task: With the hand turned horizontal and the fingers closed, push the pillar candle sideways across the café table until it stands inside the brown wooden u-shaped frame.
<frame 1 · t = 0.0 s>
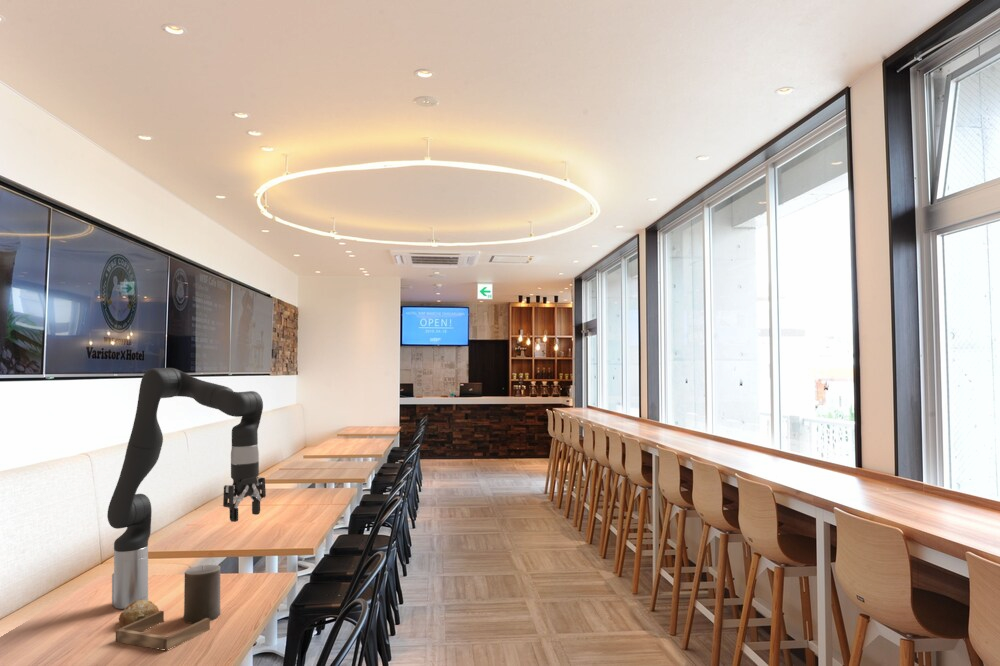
hand: (245, 517, 187), 29 cm above the table, tool pointing down, fingers open, 8 cm apart
bread roll: (138, 623, 187), on the table
pillar candle: (202, 617, 190), on the table
brown wooden u-shaped frame: (165, 634, 178), on the table
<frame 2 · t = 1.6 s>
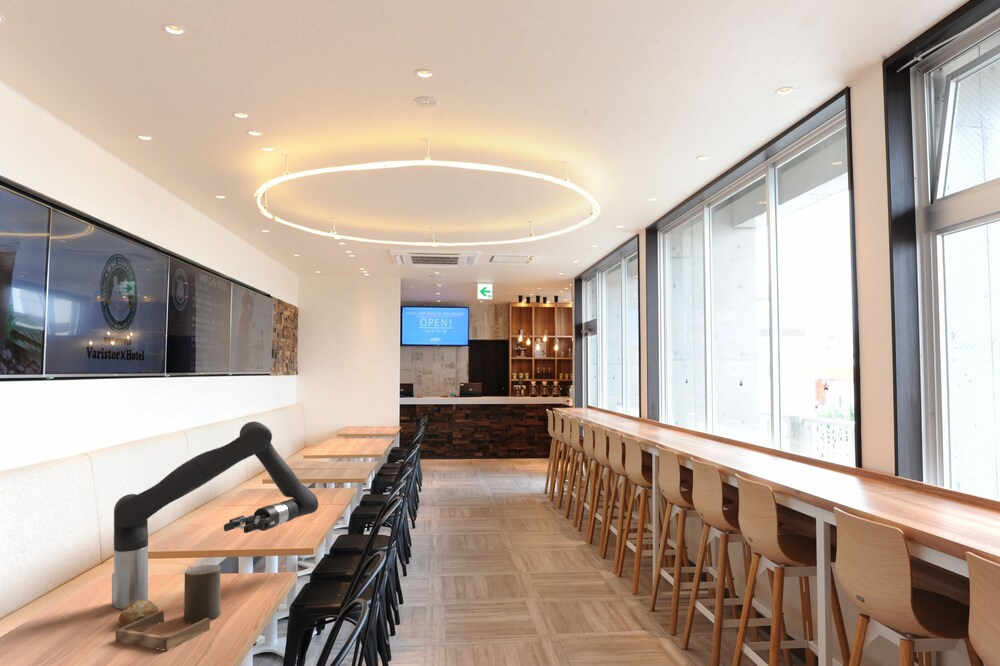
hand: (234, 528, 203), 22 cm above the table, tool horizontal, fingers open, 7 cm apart
nothing on the table moved.
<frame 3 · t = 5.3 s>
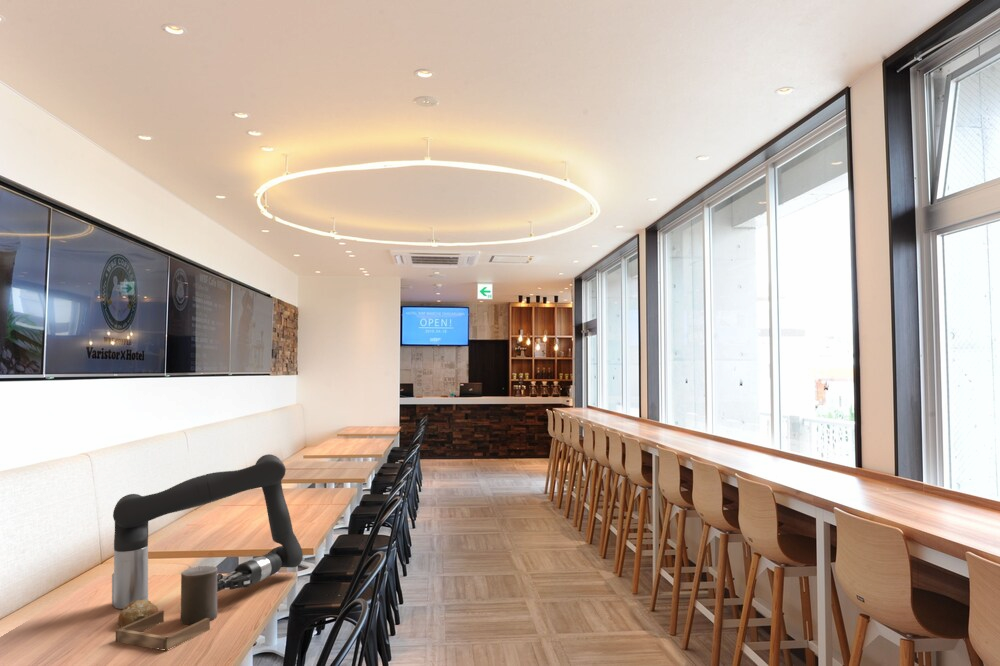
hand: (212, 589, 194), 7 cm above the table, tool horizontal, fingers closed
pillar candle: (199, 618, 189), on the table, touching gripper
everything else where it was.
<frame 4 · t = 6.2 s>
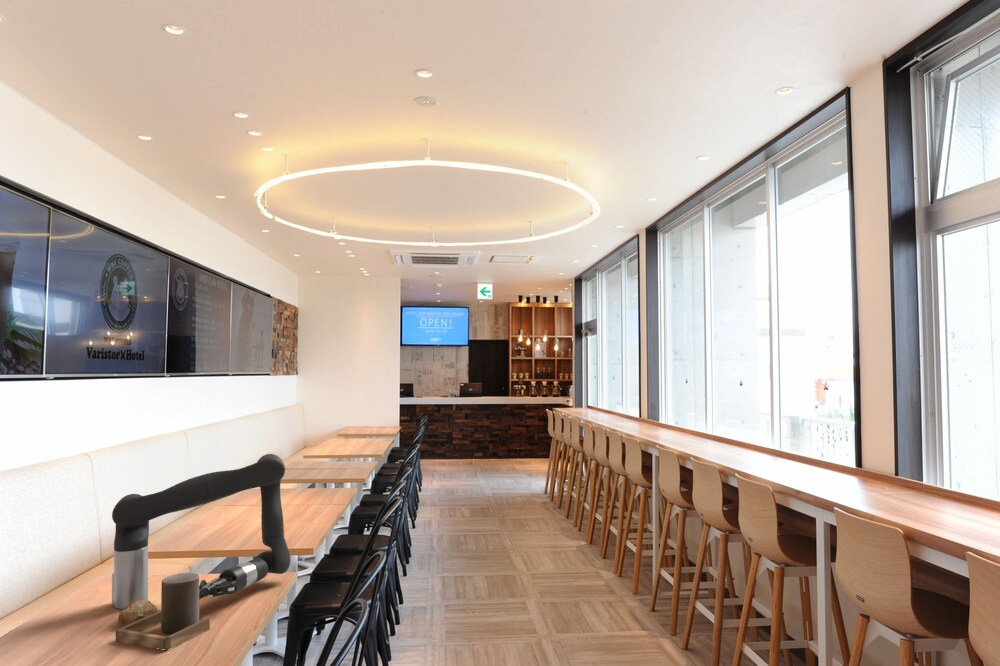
hand: (194, 596, 187), 7 cm above the table, tool horizontal, fingers closed
pillar candle: (180, 627, 183), on the table, touching gripper
everything else where it was.
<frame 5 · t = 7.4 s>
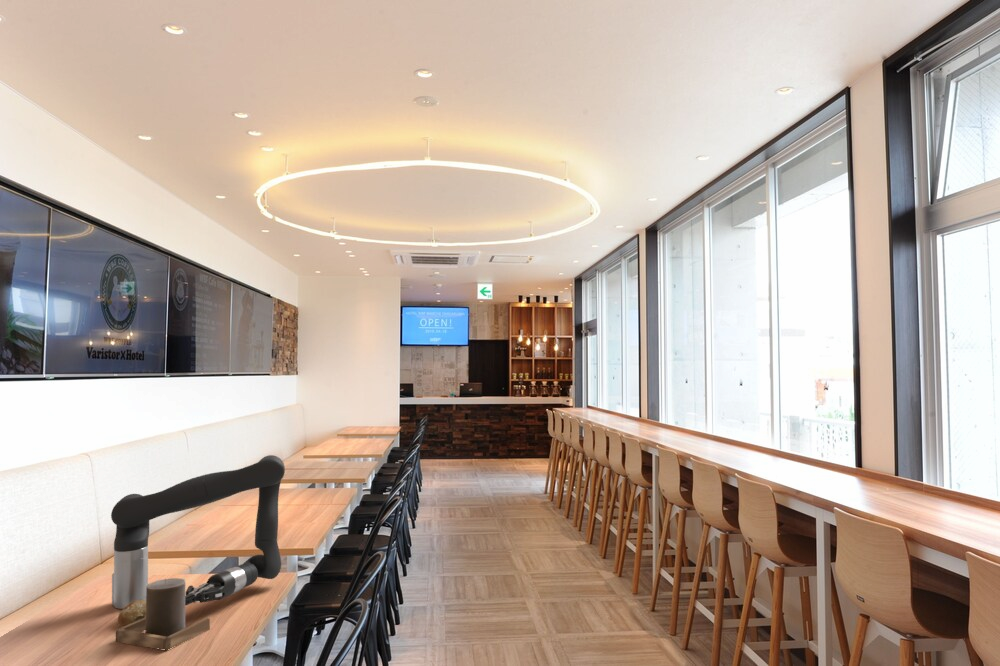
hand: (180, 602, 183), 7 cm above the table, tool horizontal, fingers closed
pillar candle: (166, 634, 178), on the table, touching gripper
everything else where it was.
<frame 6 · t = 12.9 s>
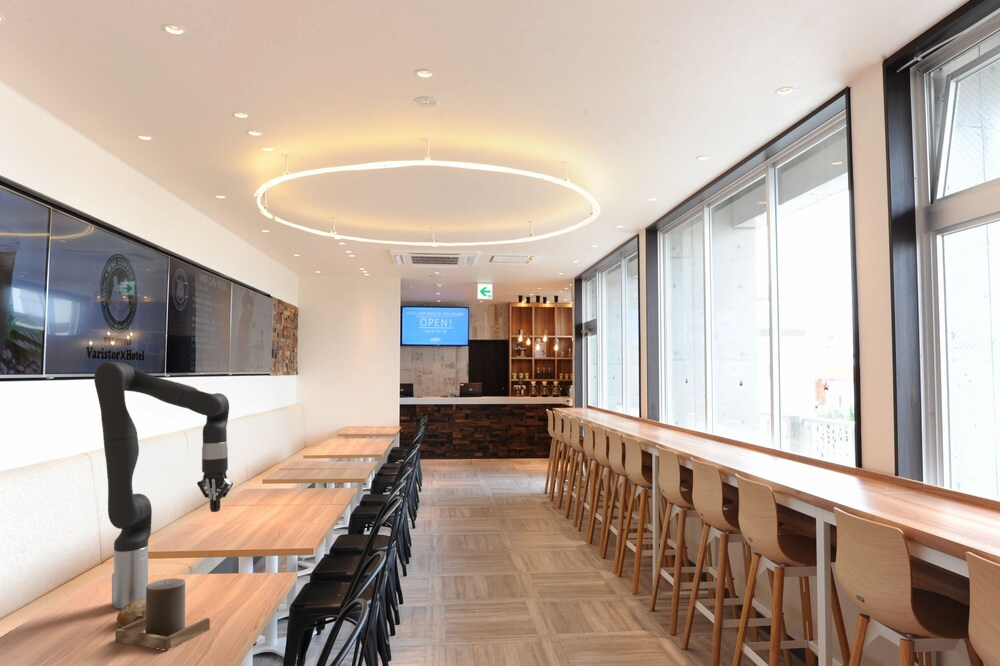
hand: (215, 511, 206), 27 cm above the table, tool pointing down, fingers closed
pillar candle: (166, 634, 178), on the table
everything else where it was.
at the end: pillar candle inside the target area on the brown wooden u-shaped frame (0.7 cm from its centre), point 0.0 cm above the brown wooden u-shaped frame's base; pillar candle tilted 0°; pillar candle touching table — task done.
